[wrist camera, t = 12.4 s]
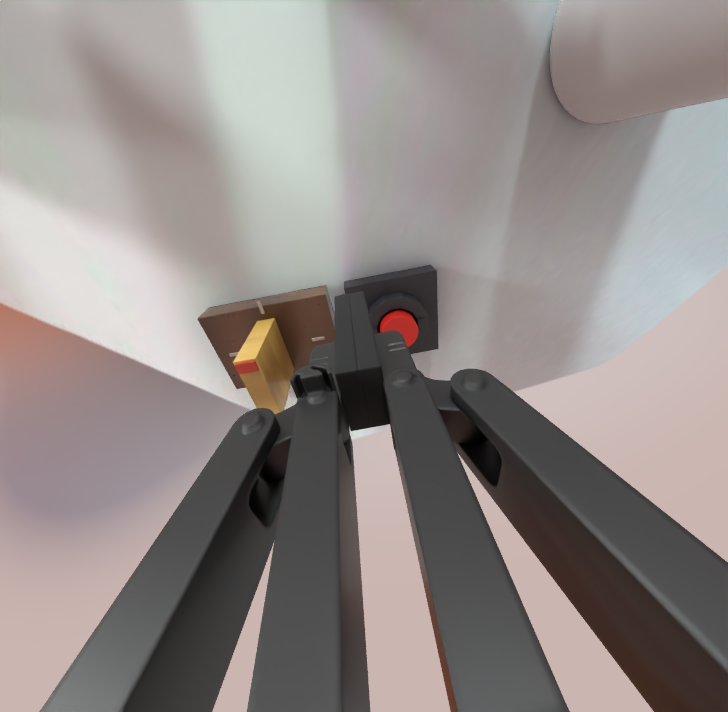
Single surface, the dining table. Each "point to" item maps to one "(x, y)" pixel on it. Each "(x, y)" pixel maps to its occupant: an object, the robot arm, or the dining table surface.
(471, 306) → the dining table surface
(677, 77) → the cylinder vase
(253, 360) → the lock handle
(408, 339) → the button
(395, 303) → the button box
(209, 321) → the panel
